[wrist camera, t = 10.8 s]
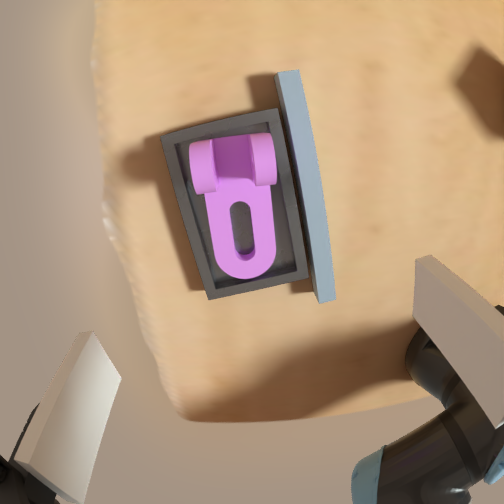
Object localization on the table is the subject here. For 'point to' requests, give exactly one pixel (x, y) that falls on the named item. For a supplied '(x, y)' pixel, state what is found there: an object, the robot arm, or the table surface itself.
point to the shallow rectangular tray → (238, 207)
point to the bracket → (237, 196)
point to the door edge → (307, 181)
